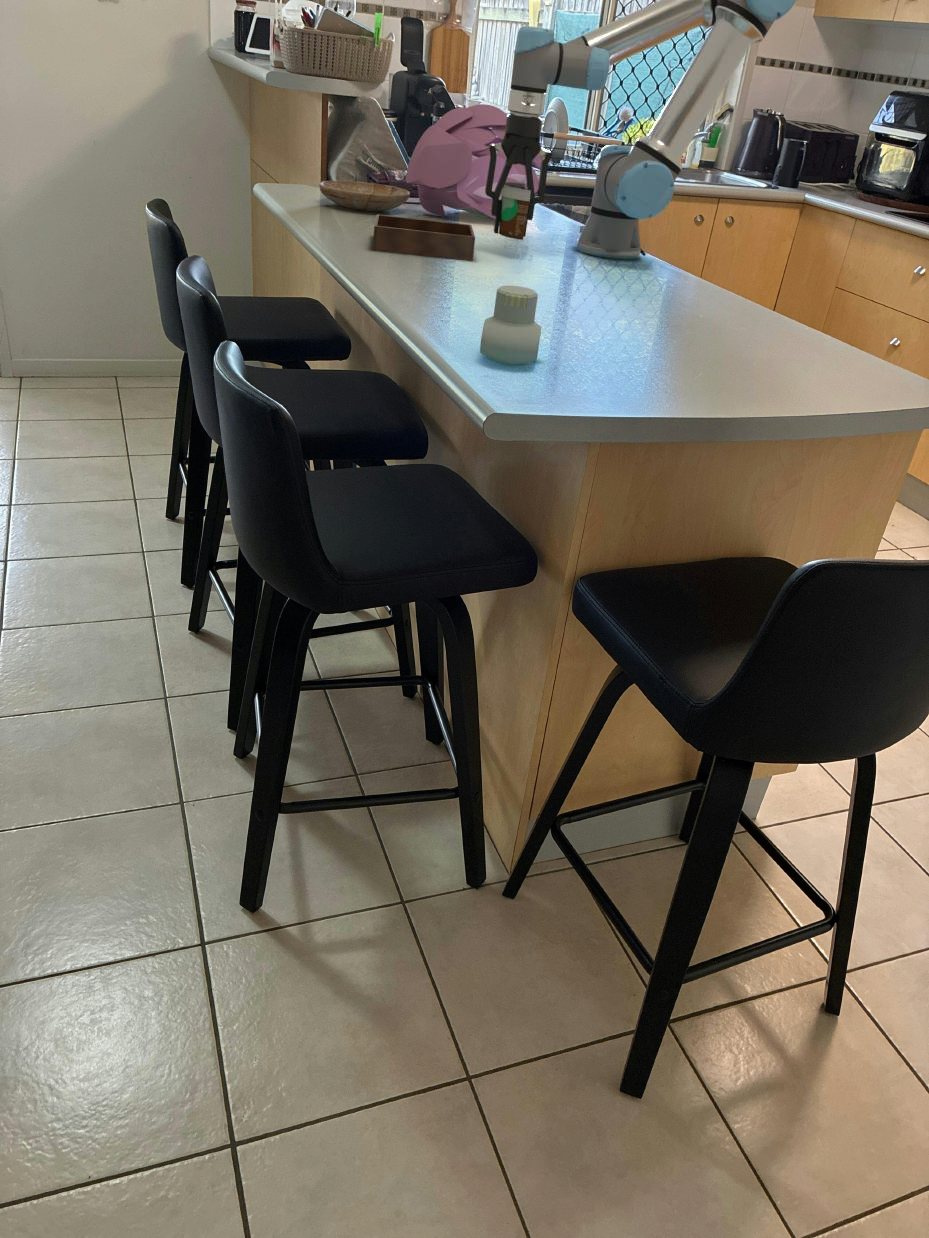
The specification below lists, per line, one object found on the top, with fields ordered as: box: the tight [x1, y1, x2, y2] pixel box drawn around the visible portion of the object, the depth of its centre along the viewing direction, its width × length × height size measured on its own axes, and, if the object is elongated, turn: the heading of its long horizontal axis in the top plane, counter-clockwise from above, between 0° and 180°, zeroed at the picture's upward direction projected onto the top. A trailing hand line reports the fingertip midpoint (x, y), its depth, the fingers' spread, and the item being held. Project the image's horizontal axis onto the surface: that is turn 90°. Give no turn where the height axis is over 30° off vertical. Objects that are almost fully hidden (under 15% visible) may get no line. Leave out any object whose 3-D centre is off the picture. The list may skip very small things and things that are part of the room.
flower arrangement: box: [405, 103, 542, 220], centre depth 238 cm, size 35×24×28 cm
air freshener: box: [479, 285, 542, 366], centre depth 132 cm, size 11×8×10 cm
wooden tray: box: [372, 213, 476, 262], centre depth 198 cm, size 21×15×5 cm
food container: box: [498, 182, 531, 241], centre depth 199 cm, size 12×6×10 cm, turn 2°
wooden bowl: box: [318, 179, 410, 212], centre depth 237 cm, size 23×24×5 cm
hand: (509, 233), depth 202 cm, fingers closed on food container, 5 cm apart
